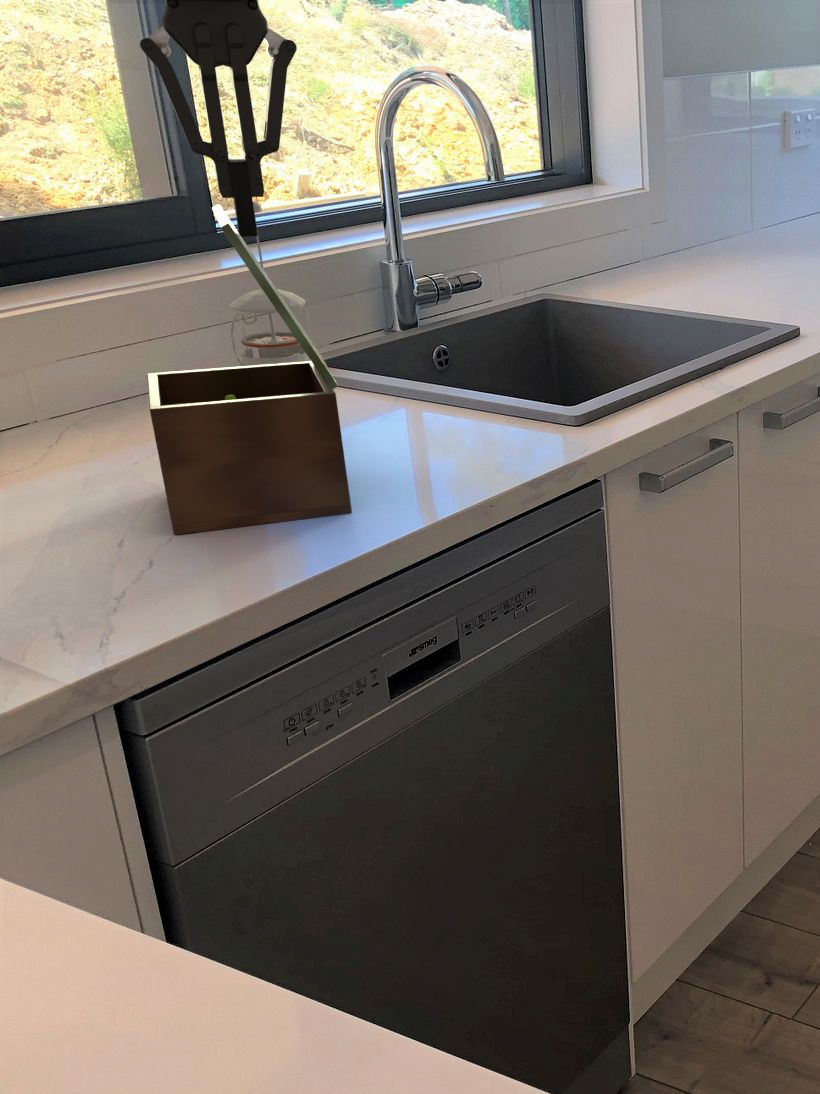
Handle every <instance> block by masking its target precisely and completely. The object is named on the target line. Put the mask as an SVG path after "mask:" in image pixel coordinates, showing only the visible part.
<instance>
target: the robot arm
mask: <svg viewBox="0 0 820 1094" xmlns="http://www.w3.org/2000/svg"><path fill="white" fill-rule="evenodd" d="M164 5H165V8H164V13H163V15H162V17H161V18H162V19H161V23H162V26H161V27H160V28H158V29H157V30H156V31H154V32H153V33H152V34H150V35H149V36H147V37H142V38H141V39H140V41H139V47H140V49H141V51H143V53H144V54H145V55H146V56H147V57H148V58H149V59H150V61H151V62H152V64H153V65H154V66H155V67H156V69H157V71H158V73H159V76H160V78H161V81H162V83H163V85H164V87H165V90H166V93H167V95H168V98H169V101H170V103H171V105H172V107H173V109H174V111H175V114H176V117H177V119H178V121H179V124H180V126H181V129H182V131H183V133H184V136H185V138H186V141H187V143H188V145H189V148H190V149H191V152H193V153H194V154H197V155H201V156H204V157H207V158H209V159H211V160H212V161H213V164H214V171H215V176H216V182H217V189H218V192H219V194H220V196H221V197H222V199H233V205H234V213H235V218H236V222H237V231H238V233H239V234H240V236H241V237H242V238H246V237H247V238H248V237H256V236H258V237H259V232H258V233H257V231H258V225H257V220H255V218H256V213H254V207H253V198H262V197H264V193H265V187H264V179H263V171H262V165H261V162H262V159H263V158H264V157H266V156H268V155H271V154H274V153H277V152H278V151H279V150H280V144H281V134H282V126H283V125H282V124H283V115H284V114H283V113H284V105H285V96H286V95H285V94H286V87H287V86H286V84H287V75H288V68H289V66H290V64H291V62H292V61H293V58H294V57H295V54H296V52H297V49H298V47H297V43H296V42H295V41H293V40H291V39H288V38H285V37H284V36H282V35H280V34H279V33H277V32H276V31H274V30H273V29H271V28H270V27H269V22H268V19H267V18H266V17H265V15H264V13H263V12H262V9H261V6H260V0H164ZM170 39H172V40H173V41H174V42H175V44H176V45H177V46H178V47H179V48H180V49H181V51H183V52H184V54H185V55H186V56H187V57H188V58H189V60H190V61H192V62H193V63H194V64H195V65H197V66H198V71H199V77H200V78H199V79H200V83H201V90H202V95H203V101H204V108H205V114H206V121H207V128H208V133H209V140H210V141H207V140H204V139H203V136H202V135H201V131H200V130H199V127H198V126H197V125H198V124H197V123H196V120H195V118H194V116H193V113H192V111H191V108H190V105H189V103H188V101H187V99H186V96H185V94H184V91H183V88H182V86H181V84H180V81H179V79H178V76H177V74H176V71H175V69H174V67H173V66H172V64H171V62H170V60H169V58H170V57H171V56H172V55H173V50H172V47H171V45H170ZM263 41H265V42H266V44H267V47H266V53H267V55H268V56H269V57H270V58H272V59H271V62H270V68H269V75H268V86H267V97H266V107H265V115H264V116H265V118H264V127H263V136H262V139H260V140H258V137H257V136H258V135H257V130H256V122H255V115H254V109H253V103H252V97H251V89H250V83H249V75H248V67H247V66H248V65H249V64H250V63H251V62H252V61H253V59H254V57H255V55H256V53H257V52H258V50H259V49H260V47H261V45H262V43H263ZM221 66H224V67H227V68H229V71H230V76H231V77H230V78H231V82H232V89H233V95H234V103H235V107H236V114H237V121H238V122H237V123H238V128H239V133H240V141H241V147H242V153H243V157H244V158H241V159H240V158H234V159H233V158H232V159H229V150H228V144H227V135H226V131H225V124H224V118H223V110H222V105H221V98H220V91H219V85H218V77H217V71H216V68H218V67H221ZM256 225H257V226H256Z"/></svg>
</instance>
